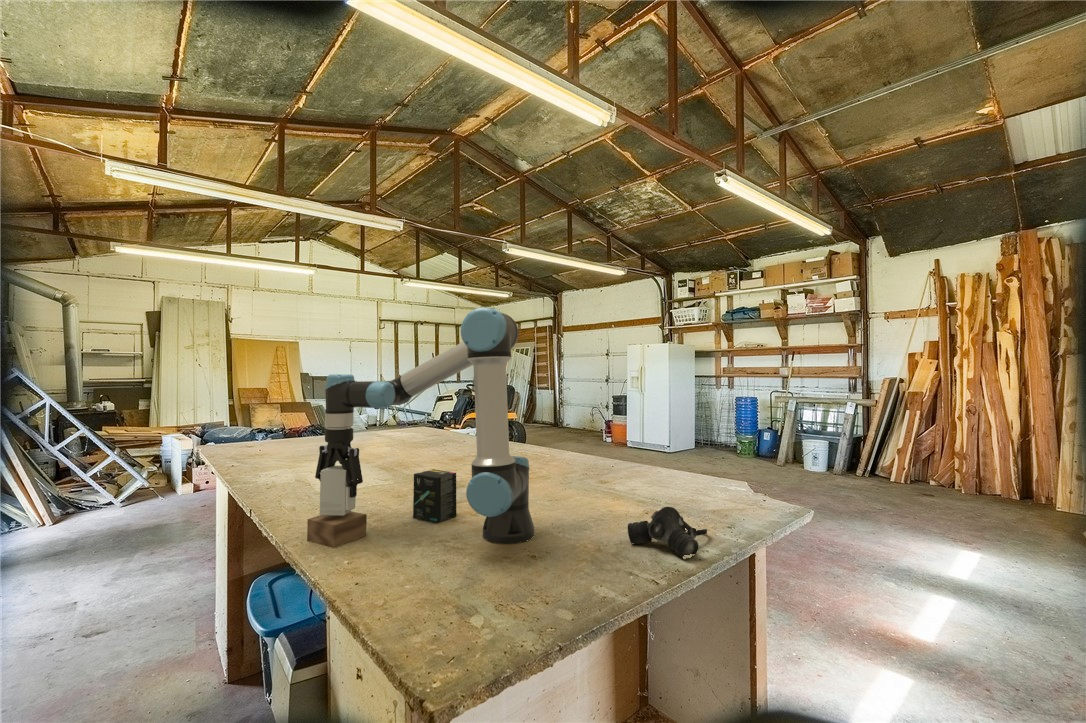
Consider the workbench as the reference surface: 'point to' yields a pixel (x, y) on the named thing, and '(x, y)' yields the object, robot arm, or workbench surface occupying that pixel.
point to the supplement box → (333, 491)
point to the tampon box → (434, 496)
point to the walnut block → (336, 528)
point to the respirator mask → (667, 531)
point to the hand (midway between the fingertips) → (338, 506)
